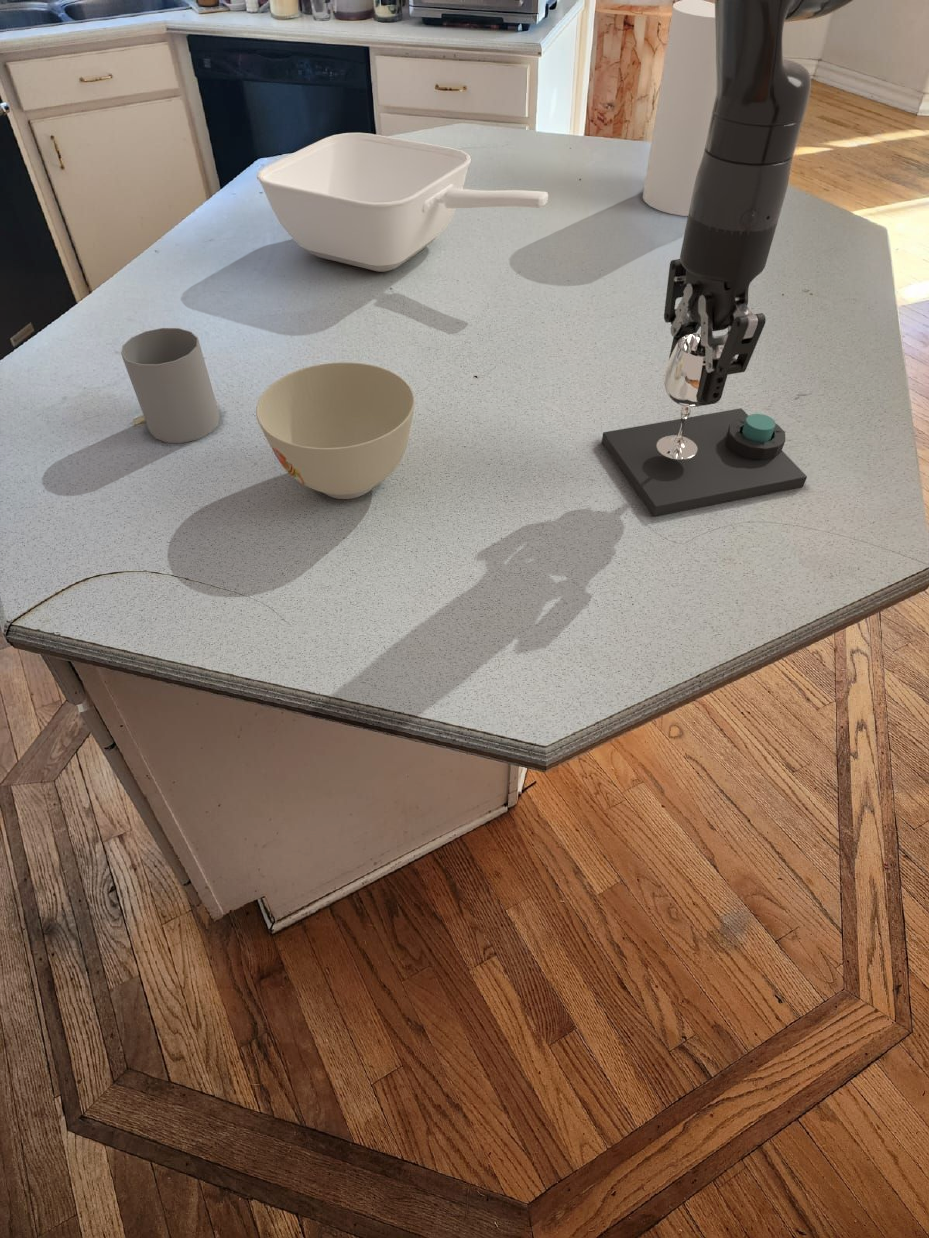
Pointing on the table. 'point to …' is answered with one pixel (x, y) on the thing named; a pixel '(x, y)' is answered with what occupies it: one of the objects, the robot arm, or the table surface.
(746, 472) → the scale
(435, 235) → the pan
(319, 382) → the bowl
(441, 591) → the table surface
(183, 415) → the cup
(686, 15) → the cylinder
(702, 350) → the wineglass
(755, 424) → the power button
